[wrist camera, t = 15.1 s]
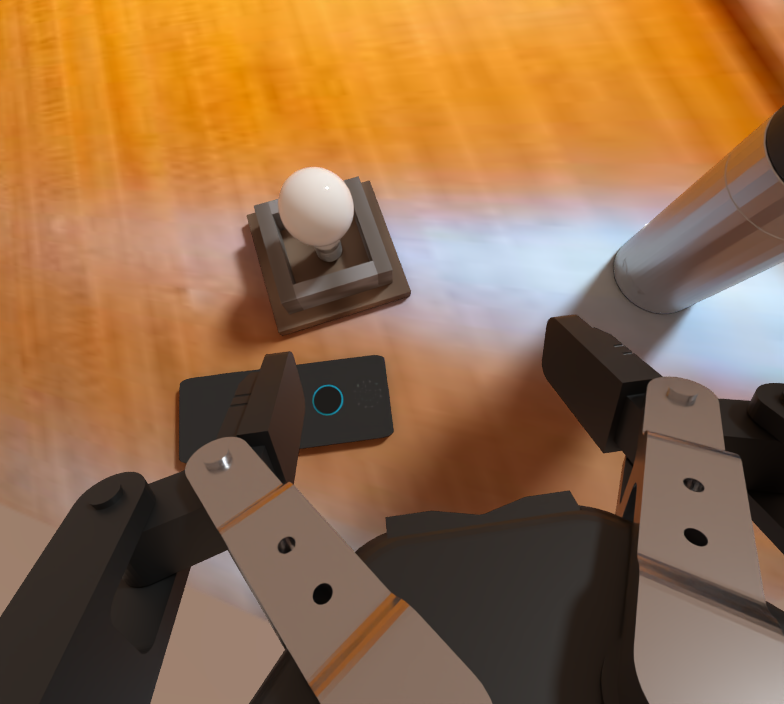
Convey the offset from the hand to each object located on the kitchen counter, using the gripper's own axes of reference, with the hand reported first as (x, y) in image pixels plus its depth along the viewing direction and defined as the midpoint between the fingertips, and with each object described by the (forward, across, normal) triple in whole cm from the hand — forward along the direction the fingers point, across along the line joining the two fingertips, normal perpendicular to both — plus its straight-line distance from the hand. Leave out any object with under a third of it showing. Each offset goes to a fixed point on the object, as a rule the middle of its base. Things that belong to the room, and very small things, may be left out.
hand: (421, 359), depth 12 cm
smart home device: (+20, +11, +17) cm, 29 cm away
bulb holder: (+31, +6, +6) cm, 32 cm away
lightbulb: (+30, +5, +5) cm, 31 cm away
